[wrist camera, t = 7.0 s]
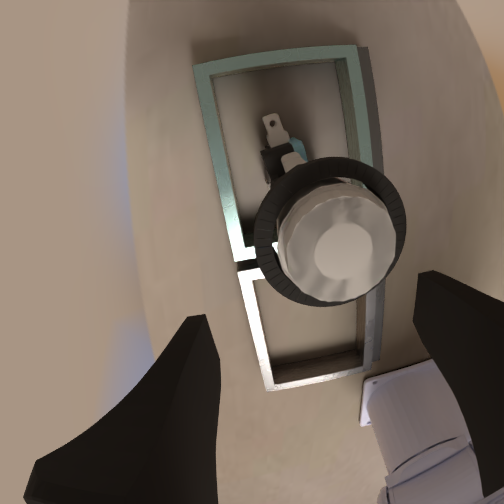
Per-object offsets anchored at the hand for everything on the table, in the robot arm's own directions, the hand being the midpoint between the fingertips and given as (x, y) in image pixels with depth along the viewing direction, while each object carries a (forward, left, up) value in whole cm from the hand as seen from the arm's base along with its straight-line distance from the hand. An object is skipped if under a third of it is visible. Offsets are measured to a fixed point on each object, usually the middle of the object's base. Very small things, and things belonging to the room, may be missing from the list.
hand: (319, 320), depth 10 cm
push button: (-1, -3, -11) cm, 11 cm away
